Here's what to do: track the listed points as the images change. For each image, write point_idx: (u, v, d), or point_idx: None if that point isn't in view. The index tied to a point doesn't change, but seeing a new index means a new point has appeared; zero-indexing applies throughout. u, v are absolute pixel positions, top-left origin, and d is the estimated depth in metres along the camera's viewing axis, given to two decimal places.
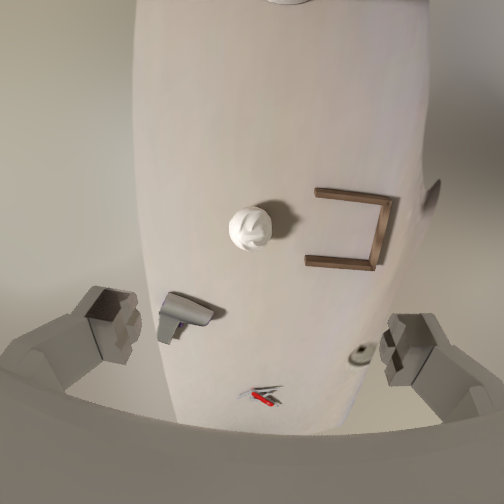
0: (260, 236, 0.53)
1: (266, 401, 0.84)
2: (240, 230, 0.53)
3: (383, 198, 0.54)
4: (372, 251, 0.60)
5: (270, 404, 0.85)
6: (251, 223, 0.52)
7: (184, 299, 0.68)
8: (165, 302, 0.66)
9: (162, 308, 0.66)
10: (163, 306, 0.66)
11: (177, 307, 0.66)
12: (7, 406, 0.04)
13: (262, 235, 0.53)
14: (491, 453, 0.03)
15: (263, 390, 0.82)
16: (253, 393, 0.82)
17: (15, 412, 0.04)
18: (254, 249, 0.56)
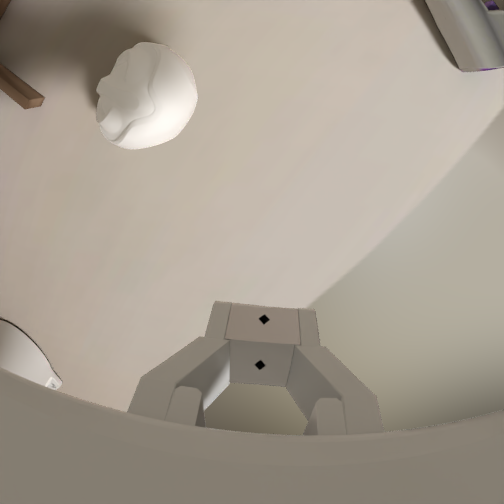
0: (103, 84, 0.16)
1: None
2: (131, 122, 0.17)
3: None
4: None
5: None
6: (108, 122, 0.17)
7: (442, 30, 0.17)
8: (482, 66, 0.16)
9: (497, 65, 0.15)
10: (492, 65, 0.15)
11: (466, 33, 0.15)
12: (7, 406, 0.04)
13: (100, 84, 0.16)
14: (491, 453, 0.03)
15: None
16: None
17: (15, 412, 0.04)
18: (152, 49, 0.16)
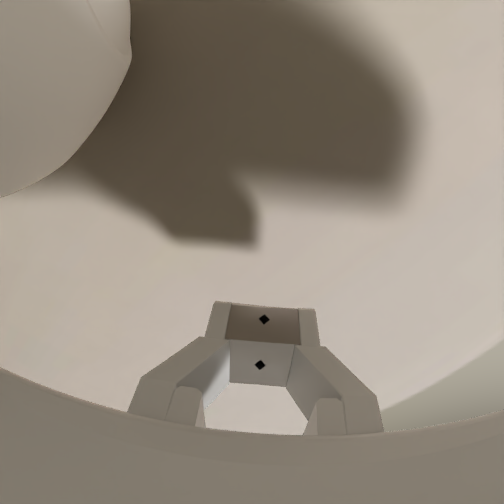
0: None
1: None
2: None
3: None
4: None
5: None
6: None
7: None
8: None
9: None
10: None
11: None
12: (7, 406, 0.04)
13: None
14: (491, 453, 0.03)
15: None
16: None
17: (15, 412, 0.04)
18: None
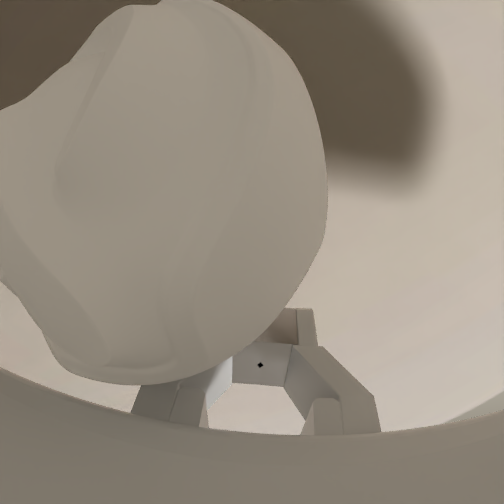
0: None
1: None
2: (77, 361, 0.04)
3: None
4: None
5: None
6: None
7: None
8: None
9: None
10: None
11: None
12: (7, 406, 0.04)
13: None
14: (491, 453, 0.03)
15: None
16: None
17: (15, 412, 0.04)
18: (234, 47, 0.04)
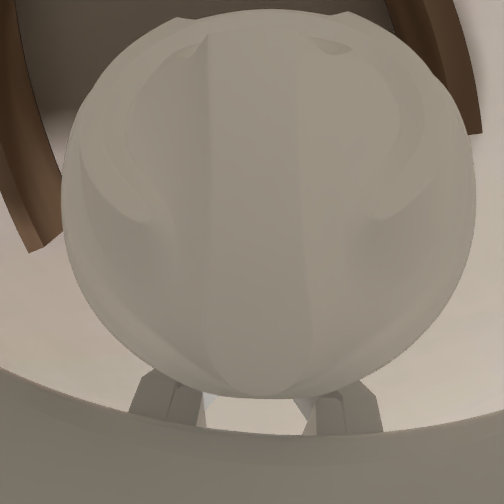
0: (271, 75, 0.02)
1: None
2: (169, 355, 0.04)
3: None
4: None
5: None
6: (96, 210, 0.04)
7: None
8: None
9: None
10: None
11: None
12: (7, 406, 0.04)
13: (262, 44, 0.02)
14: (491, 453, 0.03)
15: None
16: None
17: (15, 412, 0.04)
18: (465, 192, 0.04)
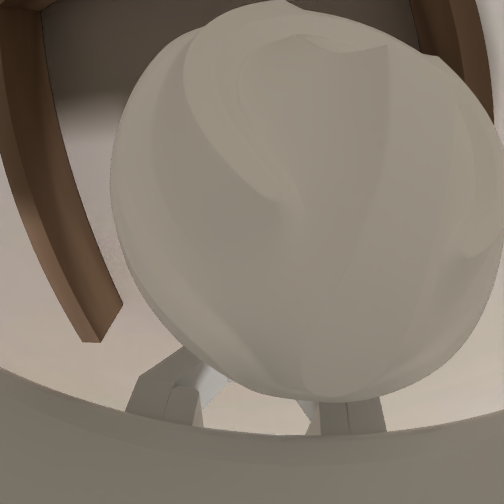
0: (439, 112, 0.02)
1: None
2: (232, 345, 0.04)
3: None
4: None
5: None
6: (191, 169, 0.03)
7: None
8: None
9: None
10: None
11: None
12: (7, 406, 0.04)
13: (432, 79, 0.02)
14: (491, 453, 0.03)
15: None
16: None
17: (15, 412, 0.04)
18: (496, 246, 0.05)
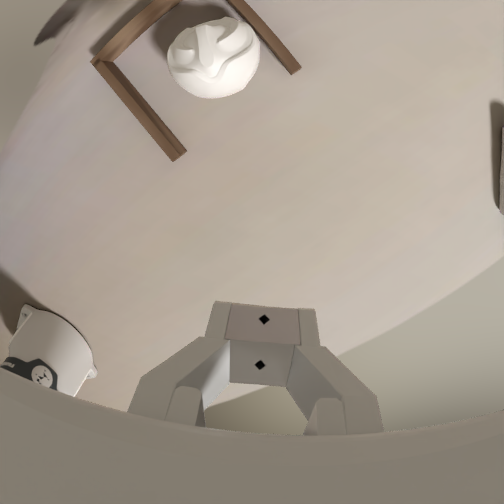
0: (203, 30, 0.19)
1: None
2: (194, 70, 0.20)
3: None
4: None
5: None
6: (181, 54, 0.20)
7: (502, 183, 0.27)
8: None
9: None
10: None
11: None
12: (7, 406, 0.04)
13: (201, 27, 0.19)
14: (491, 453, 0.03)
15: None
16: None
17: (15, 412, 0.04)
18: (250, 39, 0.20)
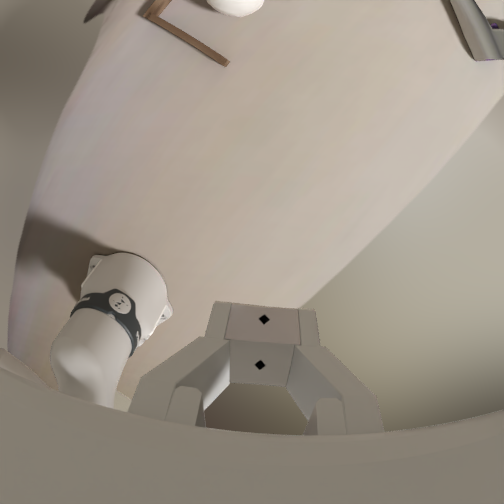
0: None
1: None
2: None
3: None
4: None
5: None
6: None
7: (466, 38, 0.29)
8: (487, 58, 0.28)
9: (495, 58, 0.27)
10: (492, 58, 0.28)
11: (479, 40, 0.27)
12: (7, 406, 0.04)
13: None
14: (491, 453, 0.03)
15: None
16: None
17: (15, 412, 0.04)
18: None
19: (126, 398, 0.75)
